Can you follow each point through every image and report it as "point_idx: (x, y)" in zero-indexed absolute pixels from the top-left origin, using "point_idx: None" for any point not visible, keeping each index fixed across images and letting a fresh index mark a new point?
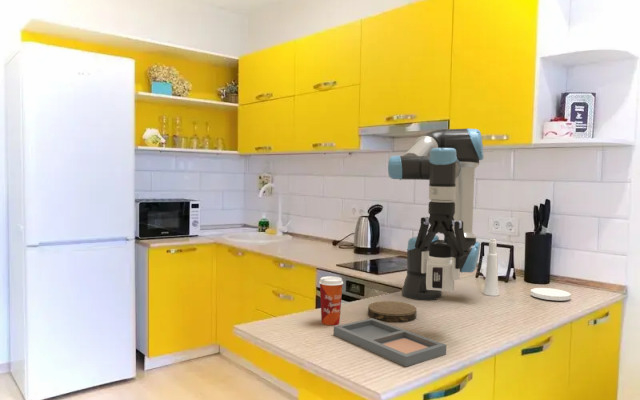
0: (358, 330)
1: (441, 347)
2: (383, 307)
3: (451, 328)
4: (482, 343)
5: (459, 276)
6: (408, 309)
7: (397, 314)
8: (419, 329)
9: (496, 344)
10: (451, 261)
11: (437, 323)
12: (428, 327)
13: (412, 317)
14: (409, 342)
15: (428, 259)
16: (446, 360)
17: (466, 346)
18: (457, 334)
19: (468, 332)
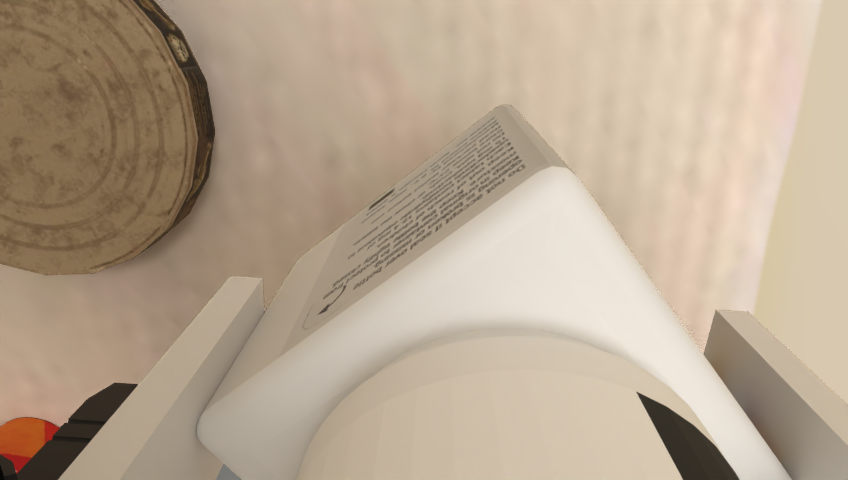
0: (232, 476)
1: None
2: (4, 172)
3: (458, 30)
4: (722, 124)
5: (765, 331)
6: (118, 69)
7: (173, 217)
8: (354, 202)
9: (791, 75)
10: (647, 346)
11: (339, 13)
12: (360, 131)
13: (201, 99)
14: None
15: (257, 477)
16: None
17: (676, 232)
18: (546, 102)
19: (573, 11)
